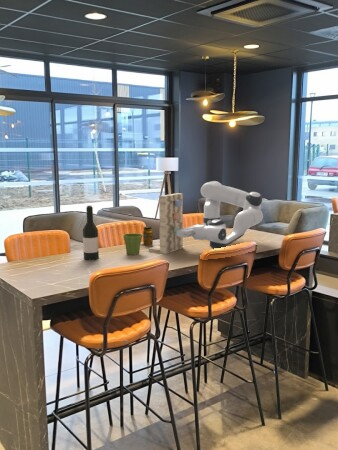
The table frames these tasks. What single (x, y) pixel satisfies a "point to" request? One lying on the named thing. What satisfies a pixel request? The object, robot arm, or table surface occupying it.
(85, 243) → the wine bottle
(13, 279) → the table surface
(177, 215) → the terracotta button
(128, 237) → the plant pot
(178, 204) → the slate button
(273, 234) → the table surface
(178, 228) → the sage button
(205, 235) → the robot arm
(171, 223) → the tall patterned box
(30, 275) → the table surface
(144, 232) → the condiment
